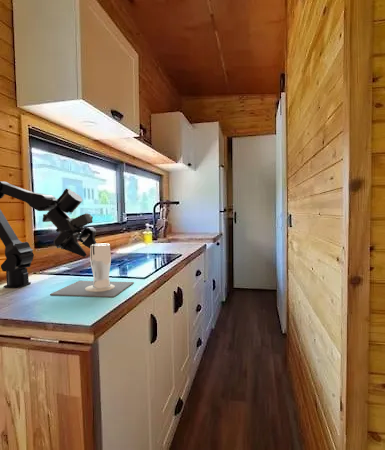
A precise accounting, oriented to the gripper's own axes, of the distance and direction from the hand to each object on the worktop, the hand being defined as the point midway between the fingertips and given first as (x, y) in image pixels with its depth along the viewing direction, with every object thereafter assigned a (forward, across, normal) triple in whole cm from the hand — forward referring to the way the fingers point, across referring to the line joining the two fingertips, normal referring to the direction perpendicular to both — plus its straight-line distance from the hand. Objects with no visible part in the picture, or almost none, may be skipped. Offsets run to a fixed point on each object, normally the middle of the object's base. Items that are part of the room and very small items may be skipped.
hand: (92, 253), depth 106 cm
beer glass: (+10, +1, +6) cm, 12 cm away
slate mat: (+9, 0, +8) cm, 12 cm away
